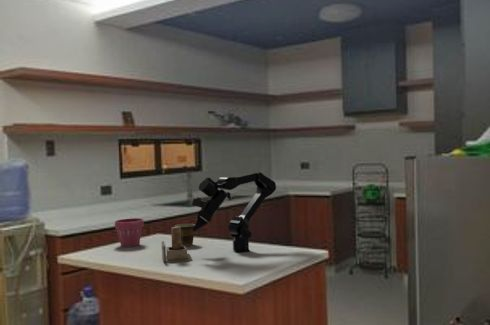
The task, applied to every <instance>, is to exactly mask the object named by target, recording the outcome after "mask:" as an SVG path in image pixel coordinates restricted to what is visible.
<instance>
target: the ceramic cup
mask: <svg viewBox="0 0 490 325" xmlns="http://www.w3.org/2000/svg"><path fill="white" fill-rule="evenodd" d="M195 224H196V223H195ZM195 224H194V223H180V224H178V223H177V224H175V225H174V227H181V246H185V247H190V246H193V243H194V238H195V237H194V236H195V232H194V231H192V230H193V228H194V226H195Z"/></svg>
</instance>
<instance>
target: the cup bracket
mask: <svg viewBox="0 0 490 325" xmlns="http://www.w3.org/2000/svg"><path fill="white" fill-rule="evenodd" d="M161 258H162V262H163V264H168V263H181V262H182V263H183V262H189V261H190V262H192V261H193V258H192V256H191V255H190V253H188V248H187V246H181V250H172V246H167V245H166V243H165V241H163V240H161Z"/></svg>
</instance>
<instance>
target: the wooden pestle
mask: <svg viewBox="0 0 490 325" xmlns="http://www.w3.org/2000/svg"><path fill="white" fill-rule="evenodd" d="M170 229H171V231H170V232H171V233H170V234H171V235H170V236H171V247H172V250H181V227H175V226H172V227H171V228H170Z"/></svg>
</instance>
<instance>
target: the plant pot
mask: <svg viewBox="0 0 490 325" xmlns="http://www.w3.org/2000/svg"><path fill="white" fill-rule="evenodd" d="M144 226H145V225H144V219H143V218H137V217H136V218H133V217H132V218H123V219H117V220H115V221H114V228H115V230H116V231H117V236H118V240H119V242H120V246H121V247H125V248H127V247H128V248H130V247H131V248H132V247H137V246H139V245H140V243H141V237H142V229H143V228H144Z"/></svg>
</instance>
